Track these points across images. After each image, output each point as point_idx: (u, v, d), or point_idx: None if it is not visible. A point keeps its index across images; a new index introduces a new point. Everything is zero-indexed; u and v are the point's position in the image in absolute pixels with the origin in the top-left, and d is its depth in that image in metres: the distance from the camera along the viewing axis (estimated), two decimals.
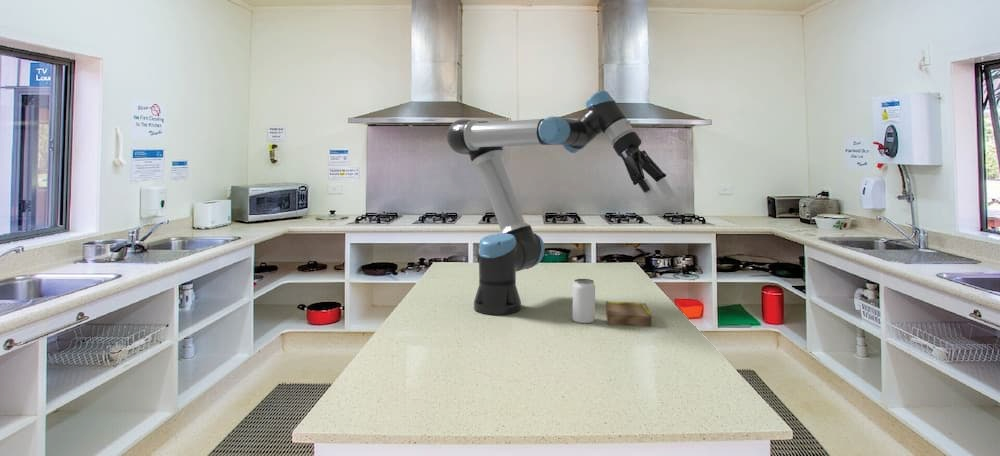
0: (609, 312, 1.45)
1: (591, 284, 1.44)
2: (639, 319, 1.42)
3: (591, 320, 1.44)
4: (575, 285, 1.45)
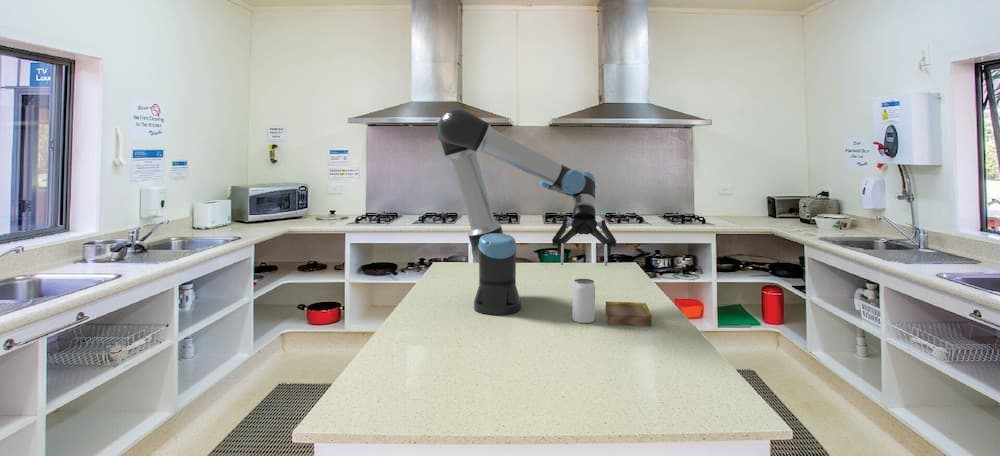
0: (609, 312, 1.45)
1: (591, 284, 1.44)
2: (639, 319, 1.42)
3: (591, 320, 1.44)
4: (575, 285, 1.45)
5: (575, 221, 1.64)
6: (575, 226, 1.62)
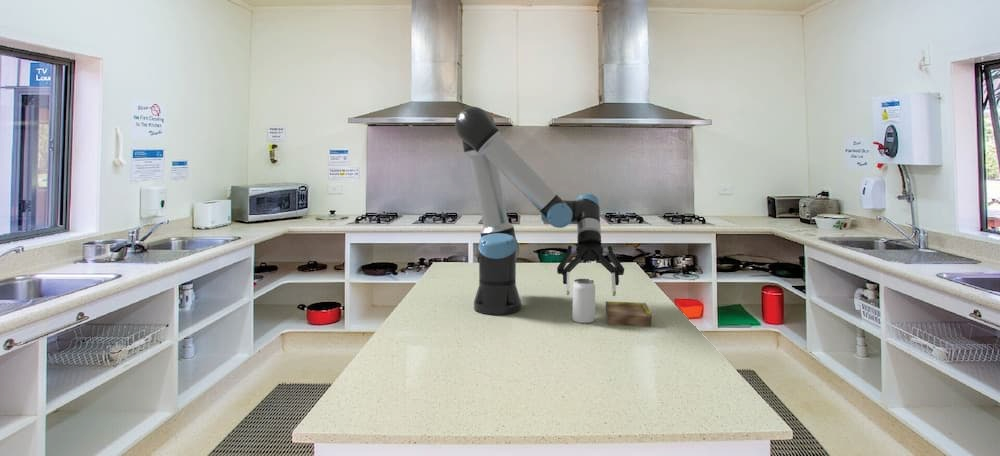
0: (609, 312, 1.45)
1: (591, 284, 1.44)
2: (639, 319, 1.42)
3: (591, 320, 1.44)
4: (575, 285, 1.45)
5: (580, 247, 1.57)
6: (581, 253, 1.55)
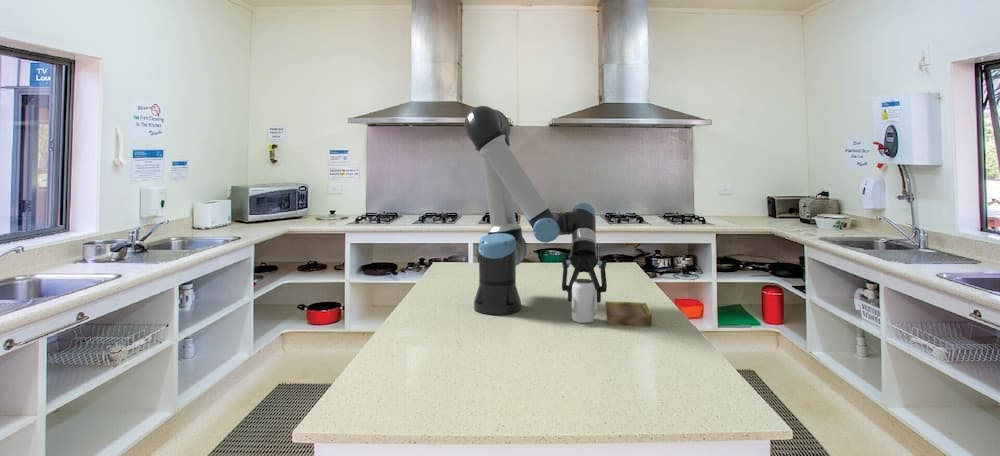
0: (609, 312, 1.45)
1: (590, 284, 1.44)
2: (639, 319, 1.42)
3: (590, 320, 1.44)
4: (574, 285, 1.45)
5: (574, 258, 1.53)
6: (577, 265, 1.51)
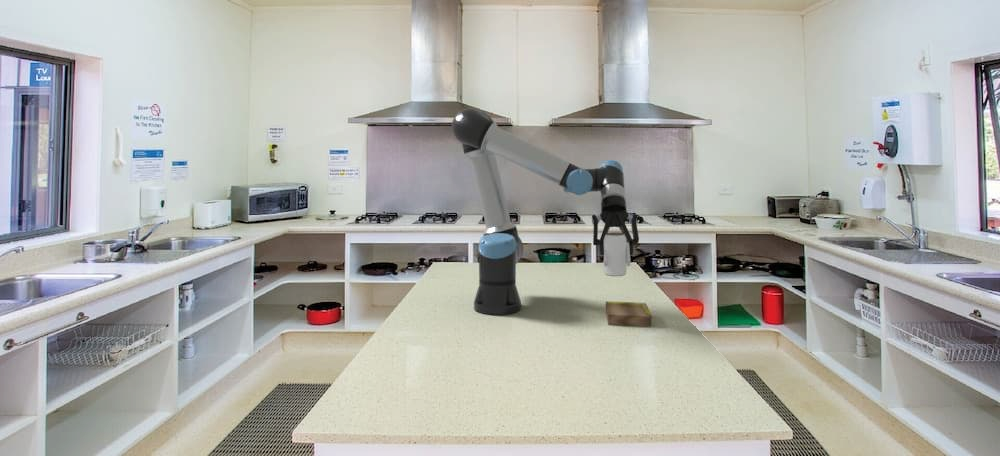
0: (609, 312, 1.45)
1: (622, 236, 1.42)
2: (639, 319, 1.42)
3: (623, 273, 1.43)
4: (606, 238, 1.43)
5: (604, 213, 1.52)
6: (608, 220, 1.49)
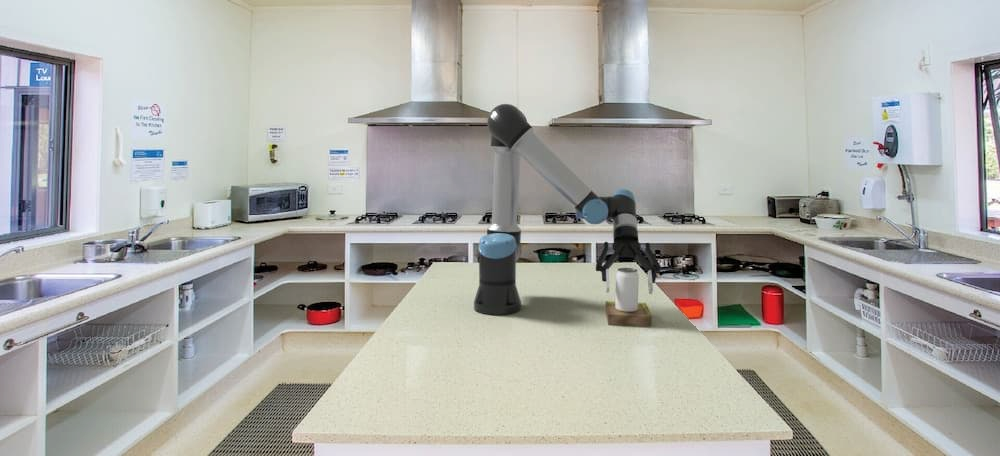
0: (609, 312, 1.45)
1: (635, 273, 1.44)
2: (639, 319, 1.42)
3: (635, 309, 1.45)
4: (619, 274, 1.45)
5: (617, 243, 1.54)
6: (618, 249, 1.52)
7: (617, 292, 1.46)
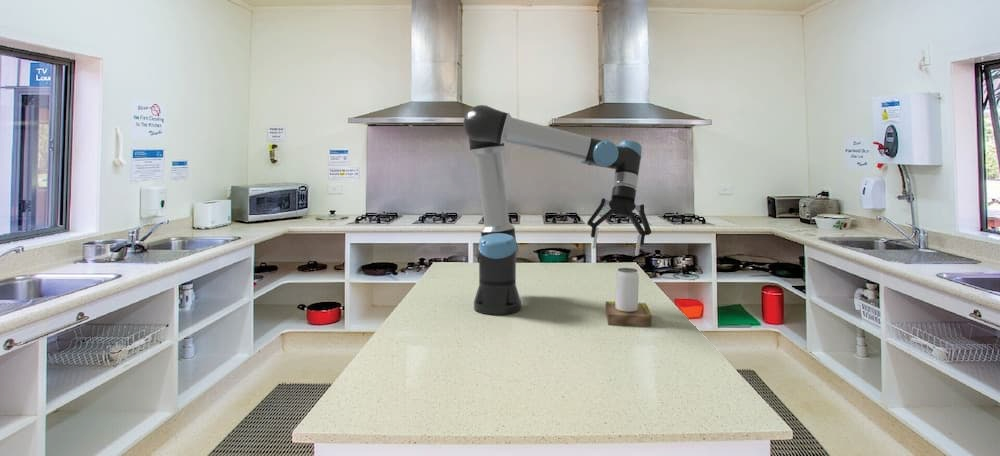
0: (609, 312, 1.45)
1: (635, 273, 1.44)
2: (639, 319, 1.42)
3: (635, 309, 1.45)
4: (619, 274, 1.45)
5: (613, 202, 1.61)
6: (613, 209, 1.60)
7: (617, 292, 1.46)
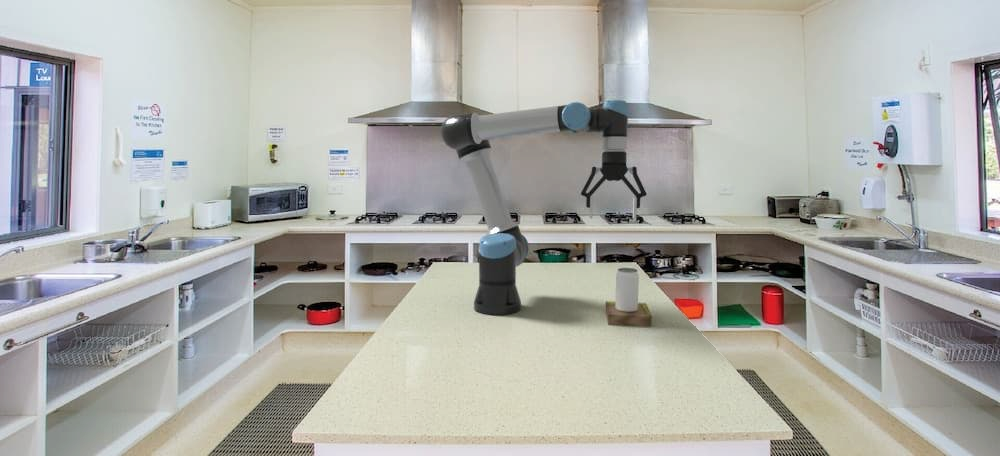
0: (609, 312, 1.45)
1: (635, 273, 1.44)
2: (639, 319, 1.42)
3: (635, 309, 1.45)
4: (619, 274, 1.45)
5: (605, 169, 1.56)
6: (605, 177, 1.56)
7: (617, 292, 1.46)
